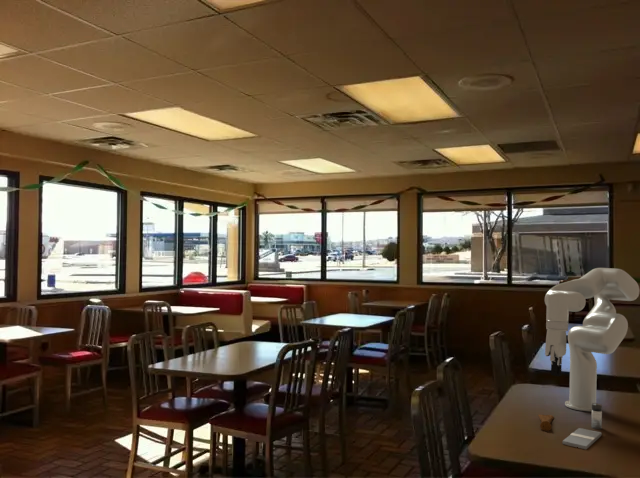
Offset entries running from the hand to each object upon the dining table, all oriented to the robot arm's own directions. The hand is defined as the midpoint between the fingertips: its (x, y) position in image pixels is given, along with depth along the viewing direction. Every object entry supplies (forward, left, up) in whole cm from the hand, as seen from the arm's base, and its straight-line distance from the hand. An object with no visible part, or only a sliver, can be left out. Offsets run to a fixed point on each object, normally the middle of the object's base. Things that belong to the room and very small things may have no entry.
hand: (556, 375), depth 211 cm
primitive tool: (+11, 0, -16) cm, 19 cm away
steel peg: (+4, +15, -15) cm, 22 cm away
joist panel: (+21, +15, -15) cm, 30 cm away
